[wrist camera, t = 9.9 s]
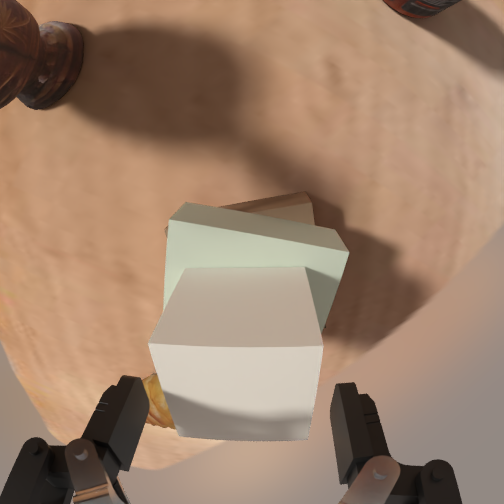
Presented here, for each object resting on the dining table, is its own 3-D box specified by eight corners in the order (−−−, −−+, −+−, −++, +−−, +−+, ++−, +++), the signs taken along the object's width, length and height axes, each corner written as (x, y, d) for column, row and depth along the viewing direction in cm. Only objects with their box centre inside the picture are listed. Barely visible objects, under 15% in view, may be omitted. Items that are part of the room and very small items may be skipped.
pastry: (151, 418, 31) (143, 443, 28) (113, 381, 29) (101, 406, 26) (217, 403, 29) (212, 431, 26) (179, 360, 27) (169, 389, 24)
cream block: (304, 266, 15) (323, 345, 10) (298, 357, 18) (307, 439, 12) (185, 267, 16) (147, 343, 10) (199, 356, 18) (179, 436, 12)
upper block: (335, 229, 18) (349, 252, 15) (298, 345, 22) (303, 379, 18) (185, 201, 18) (169, 219, 15) (175, 324, 21) (162, 356, 18)
